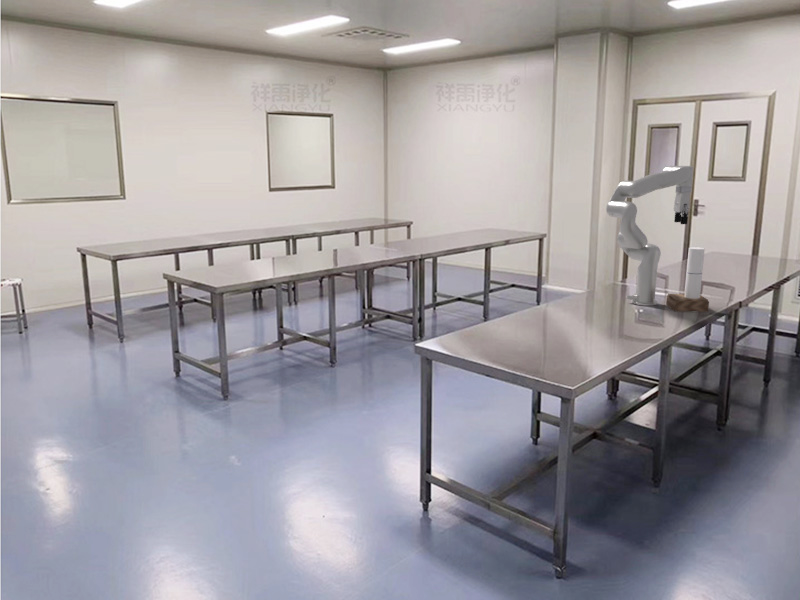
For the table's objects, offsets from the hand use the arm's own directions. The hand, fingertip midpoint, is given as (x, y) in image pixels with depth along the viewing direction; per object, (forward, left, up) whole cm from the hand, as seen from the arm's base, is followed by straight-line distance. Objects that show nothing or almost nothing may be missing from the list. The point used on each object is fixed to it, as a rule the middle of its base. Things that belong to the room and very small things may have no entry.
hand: (680, 223), depth 332 cm
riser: (0, -20, -41) cm, 46 cm away
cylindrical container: (+2, -21, -36) cm, 41 cm away
